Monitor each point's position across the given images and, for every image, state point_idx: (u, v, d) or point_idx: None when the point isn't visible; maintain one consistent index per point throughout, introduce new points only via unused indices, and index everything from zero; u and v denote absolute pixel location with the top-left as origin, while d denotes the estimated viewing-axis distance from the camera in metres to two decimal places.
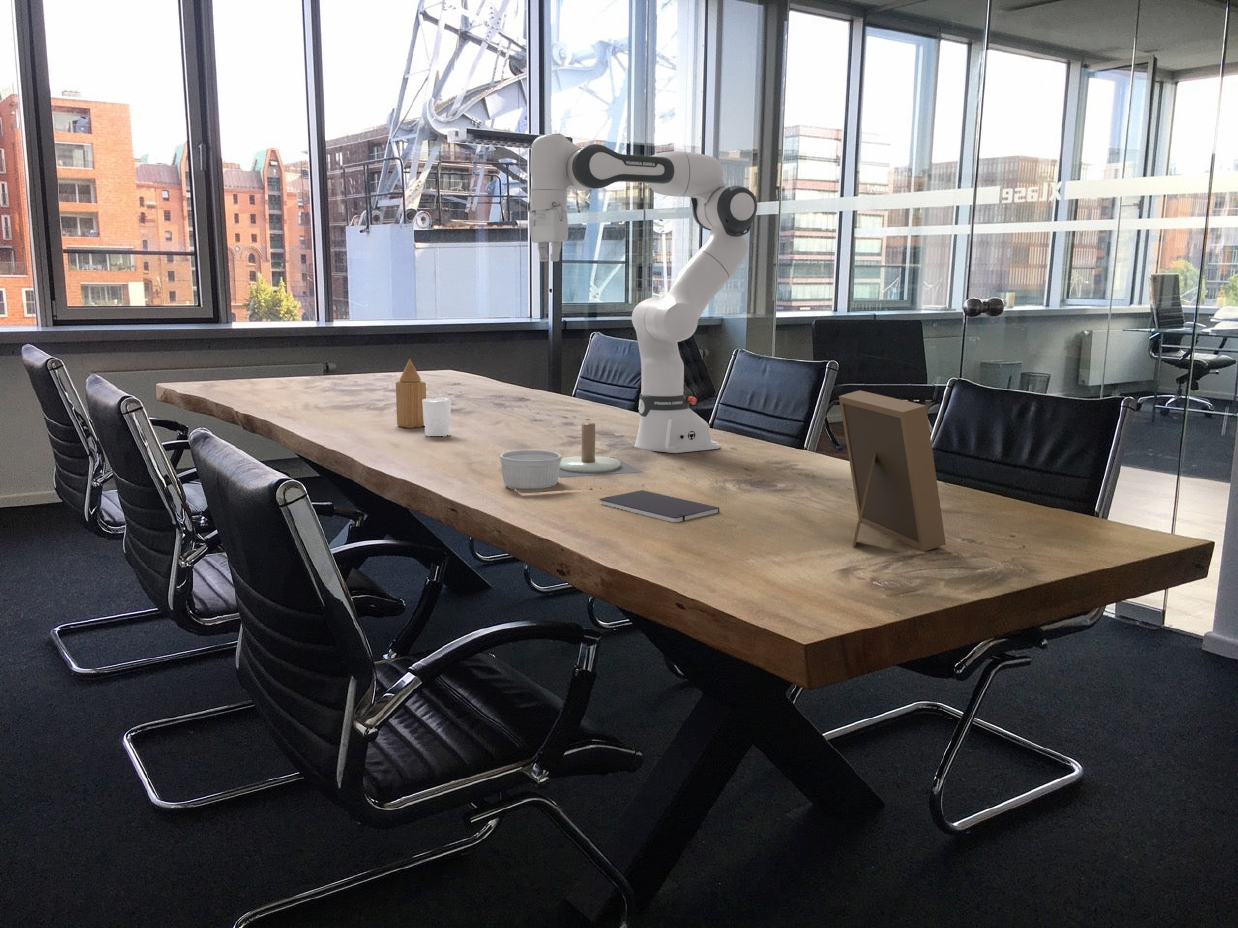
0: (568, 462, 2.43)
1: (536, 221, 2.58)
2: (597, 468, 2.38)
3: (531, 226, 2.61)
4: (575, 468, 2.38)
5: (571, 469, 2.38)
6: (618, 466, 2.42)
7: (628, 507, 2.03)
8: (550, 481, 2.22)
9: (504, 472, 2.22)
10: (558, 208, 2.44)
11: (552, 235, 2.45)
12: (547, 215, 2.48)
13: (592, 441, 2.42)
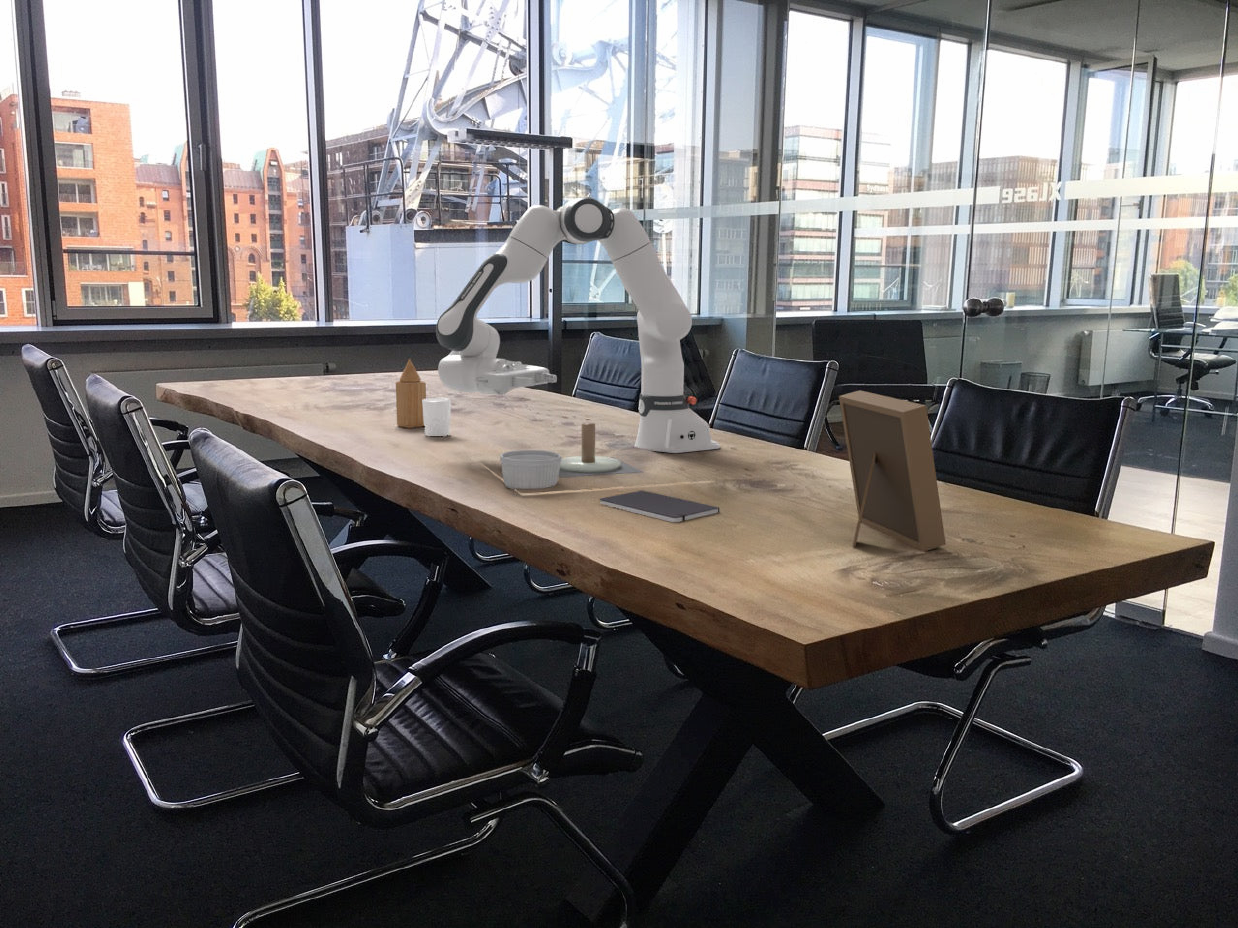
0: (568, 462, 2.43)
1: None
2: (597, 468, 2.38)
3: None
4: (575, 468, 2.38)
5: (571, 469, 2.38)
6: (618, 466, 2.42)
7: (628, 507, 2.03)
8: (550, 481, 2.22)
9: (504, 472, 2.22)
10: None
11: None
12: None
13: (592, 441, 2.42)
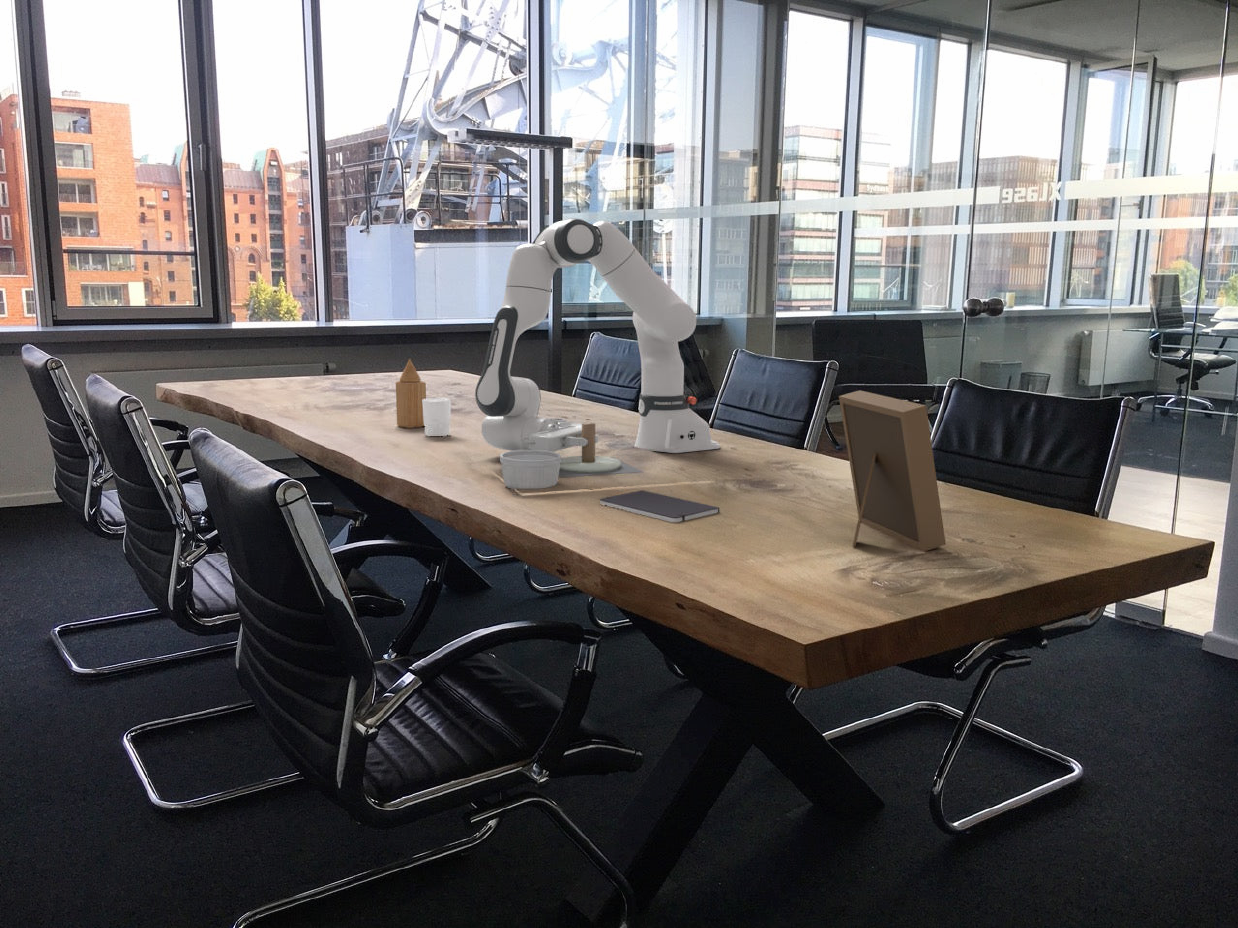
0: (568, 462, 2.43)
1: None
2: (597, 468, 2.38)
3: None
4: (575, 468, 2.38)
5: (572, 469, 2.38)
6: (618, 466, 2.43)
7: (628, 507, 2.03)
8: (550, 481, 2.22)
9: (504, 472, 2.22)
10: None
11: None
12: None
13: (592, 441, 2.42)
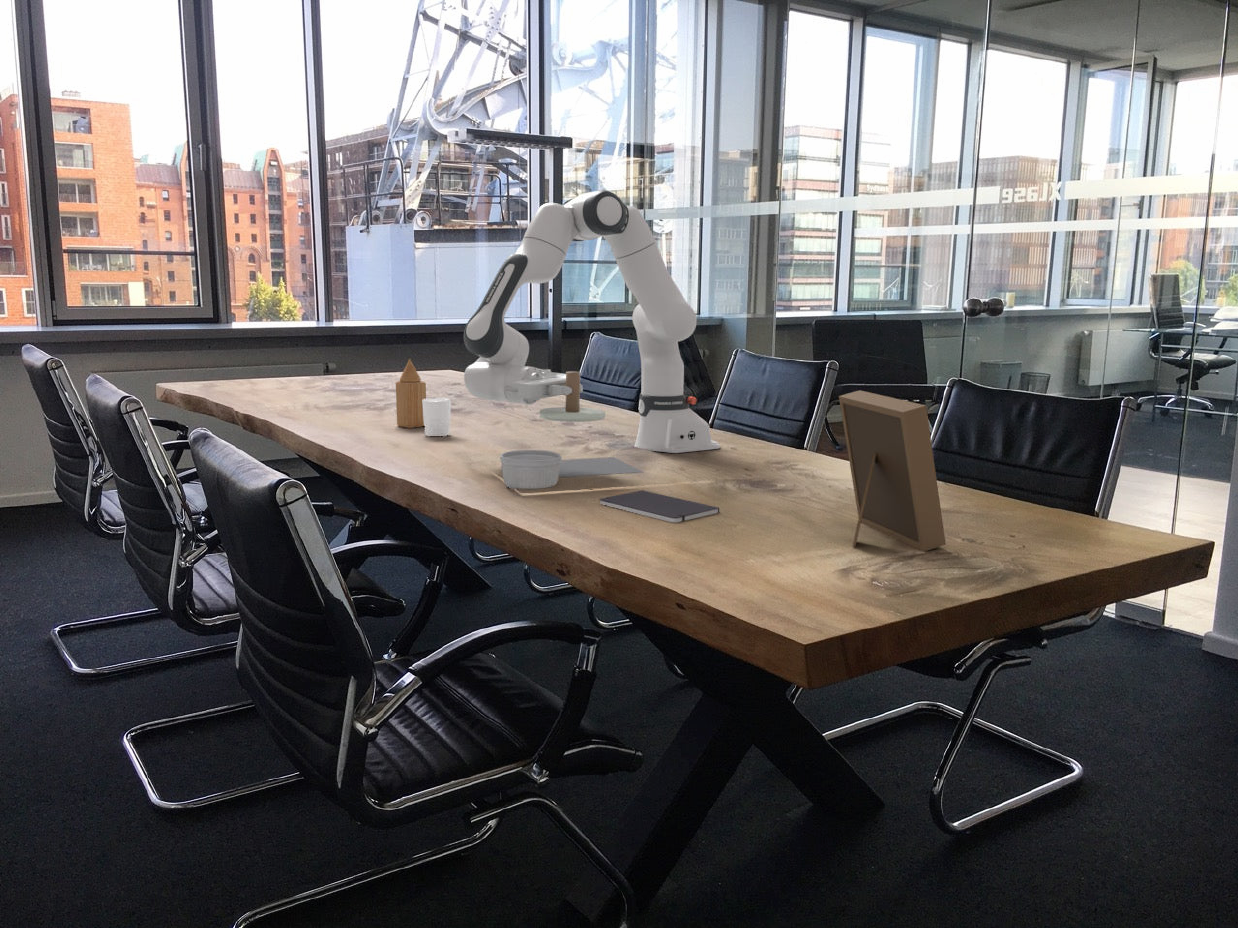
0: (551, 411, 2.36)
1: None
2: (581, 417, 2.30)
3: None
4: (558, 417, 2.31)
5: (555, 418, 2.31)
6: (603, 416, 2.35)
7: (628, 507, 2.03)
8: (550, 481, 2.22)
9: (504, 472, 2.22)
10: None
11: None
12: None
13: (576, 390, 2.35)
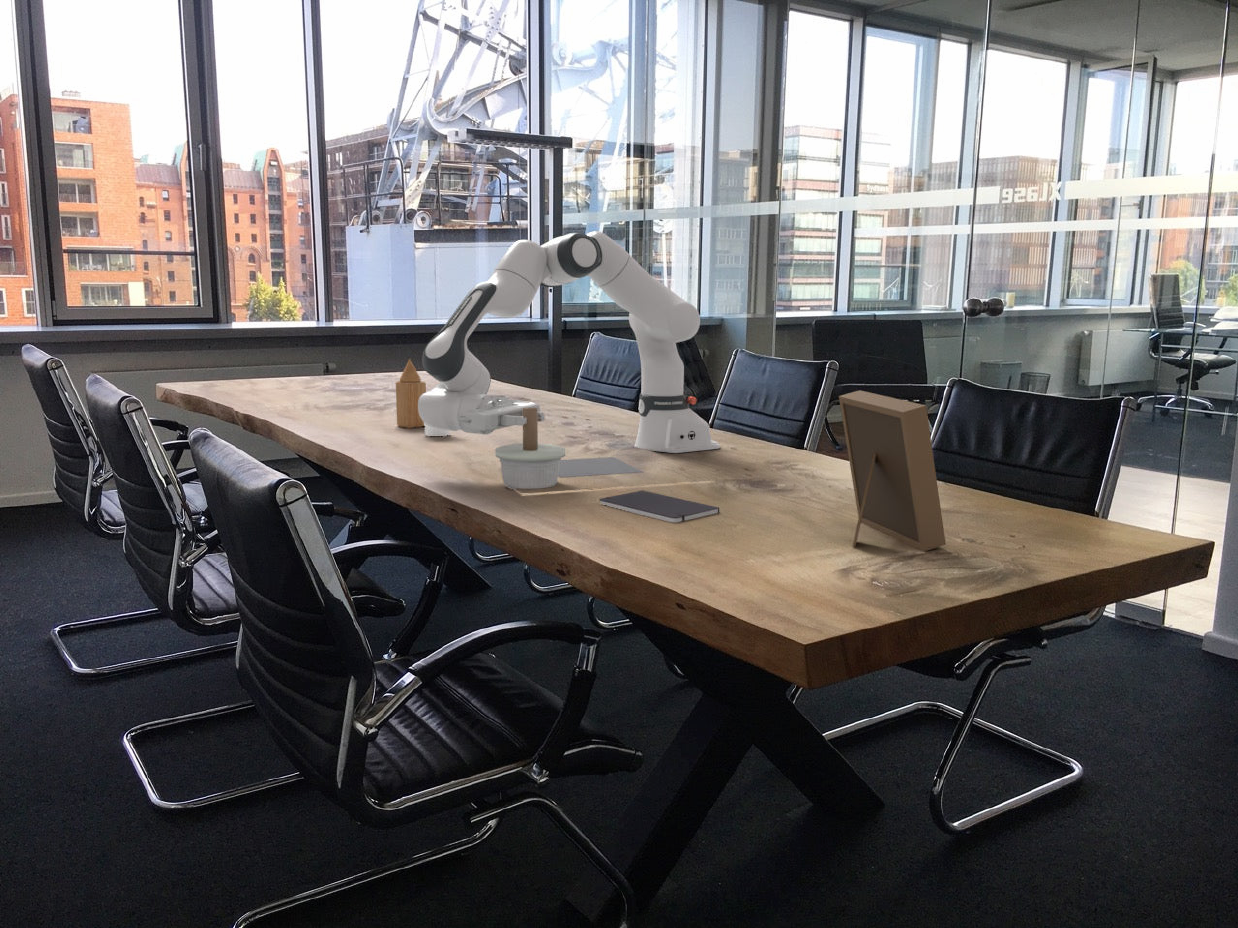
0: (508, 450, 2.23)
1: None
2: (539, 456, 2.17)
3: None
4: (515, 456, 2.17)
5: (511, 458, 2.18)
6: (562, 454, 2.22)
7: (628, 507, 2.03)
8: (550, 481, 2.22)
9: (504, 472, 2.22)
10: None
11: None
12: None
13: (534, 427, 2.22)
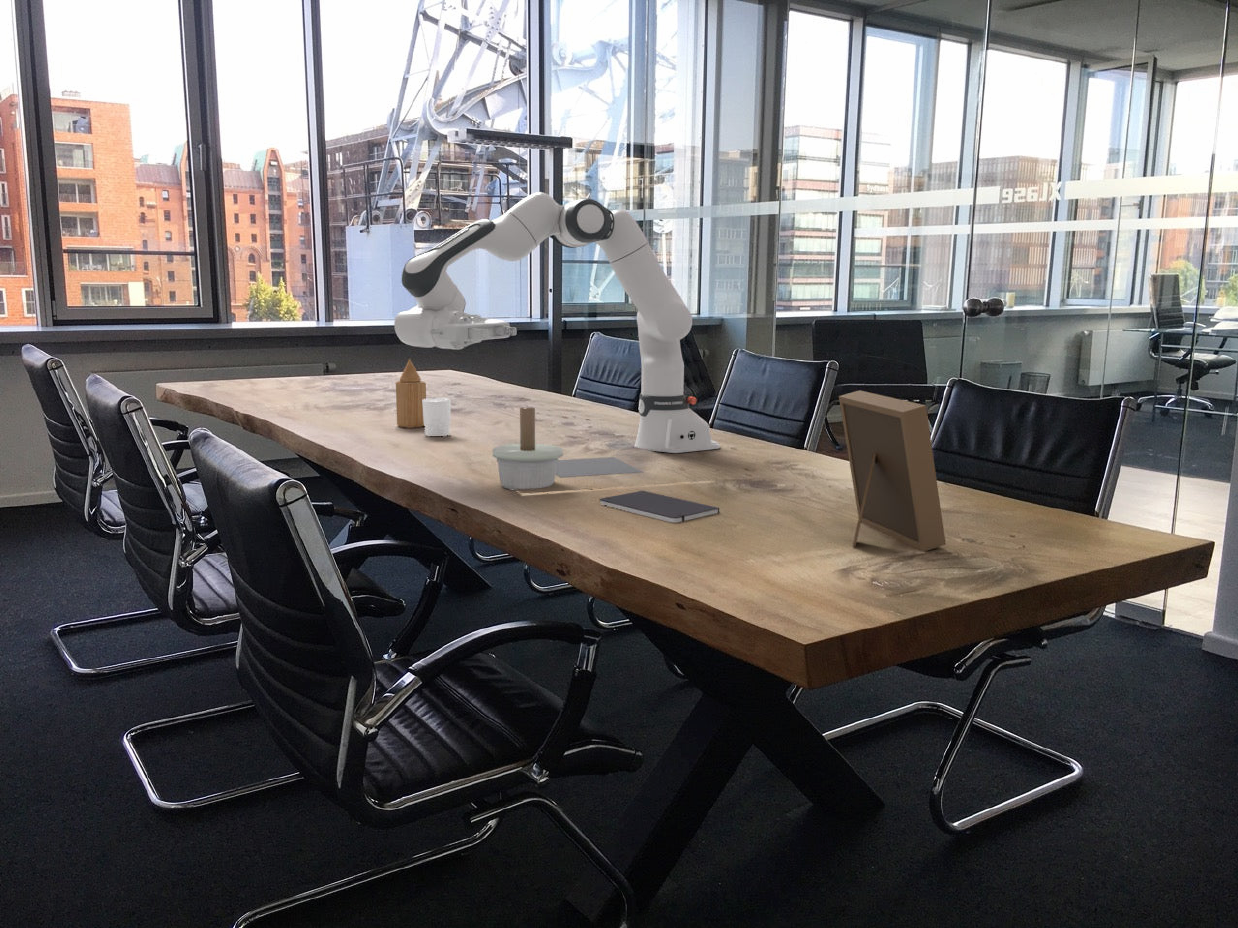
0: (505, 450, 2.23)
1: None
2: (536, 456, 2.17)
3: None
4: (512, 456, 2.17)
5: (508, 458, 2.18)
6: (560, 454, 2.22)
7: (628, 507, 2.03)
8: (547, 481, 2.22)
9: (501, 472, 2.22)
10: None
11: (458, 341, 2.31)
12: None
13: (531, 427, 2.22)
